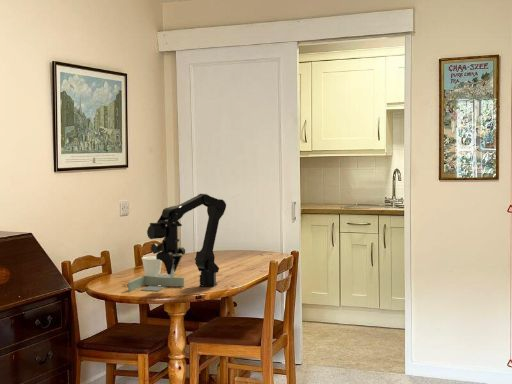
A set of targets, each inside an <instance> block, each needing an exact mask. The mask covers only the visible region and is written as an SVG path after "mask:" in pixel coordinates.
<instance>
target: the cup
mask: <svg viewBox="0 0 512 384" xmlns="http://www.w3.org/2000/svg"><path fill="white" fill-rule="evenodd" d="M141 260H142V266H143V270H144V271H143V272H144V276H157V275H159V274H161V270H162V264H163V261H161V260H160V259H156V255H155V256H154V255H151V256H143V257H141Z"/></svg>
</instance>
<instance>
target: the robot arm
mask: <svg viewBox="0 0 512 384" xmlns="http://www.w3.org/2000/svg"><path fill="white" fill-rule="evenodd" d="M200 206H204V207H206V208H207V210H206V212H207V216H208V220H207V224H206V228H205V229H206V230H205V234H204V239H203V242H202V248H201V249H200V250H199V251H196V252H195V254H196V255H195V258H194V261H195V266H196V268H197V269H198V270H197V271H198V272H200V274H199V287H211V288H212V287H215V286H217V285H218V282H217V273H219V269H220V267H219V266H218V265H217V263H215V258H216V257H215V254H214V247H215V242H216V238H217V232H218V228H219V221H220V220H221V218H222V217H223V215H224V214H225V212H226V208H227V203H226V201H225V200H224V199H220V198H219V199H218V198H216V197H213V196H211V195H209V194H208V193H199V194H197V195H196V196H194V197H191V198H190V199H188V200H186V201H184V202H182V203H180V204H177V205H172V206H169V207H165V208H163V210H162V211H161V215H160V217H159V218H158V220H157V222H150V223H149V226H148V228H147V230H146V234H147V237H148V238H149V240H157V239H158V240H159V239H163V240H162V241H161V243H160V244H157V243H152V244H151V247H150V252H152V253H153V255H155V254H156V255H155V256H156V259H160V260H161V261H162V263H163V264H164V267H165V270H166V273H167V274H171V270H172V267H173V264H174V265H175V272H176V270H177V268H178V266H179V263H180V261H181V259H182V258H183V255H185V254H186V249H185V248H184V247H183V246H182V247H179V245H178V244H179V242H180V238H178V237H179V236H178V235H179V234H178V233H179V232H178V227H182V226H183V224H182V223H181V222H179V220H180V219H182V218H183V217H184V216H185V214H187V213H188V212H190V211H192V210H195V209H196V208H198V207H200ZM180 254H181V255H180Z"/></svg>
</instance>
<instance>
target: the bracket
mask: <svg viewBox="0 0 512 384" xmlns="http://www.w3.org/2000/svg"><path fill="white" fill-rule="evenodd" d="M157 277H161V278H171V277H176V271H175V265H174V264H173V267H172V270H171V274H167V272H162V273H161V272H160V274H159V275H157Z"/></svg>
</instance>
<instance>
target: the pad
mask: <svg viewBox="0 0 512 384" xmlns="http://www.w3.org/2000/svg"><path fill="white" fill-rule="evenodd" d="M165 287H166V288H167V287H168V286H158V285H147V286H146V287H144V288H142V289H140V291H142V290H143V291H144V292H146V291H147V292H159V291H161V289H162V290H163V288H164V289H166V288H165Z"/></svg>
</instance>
